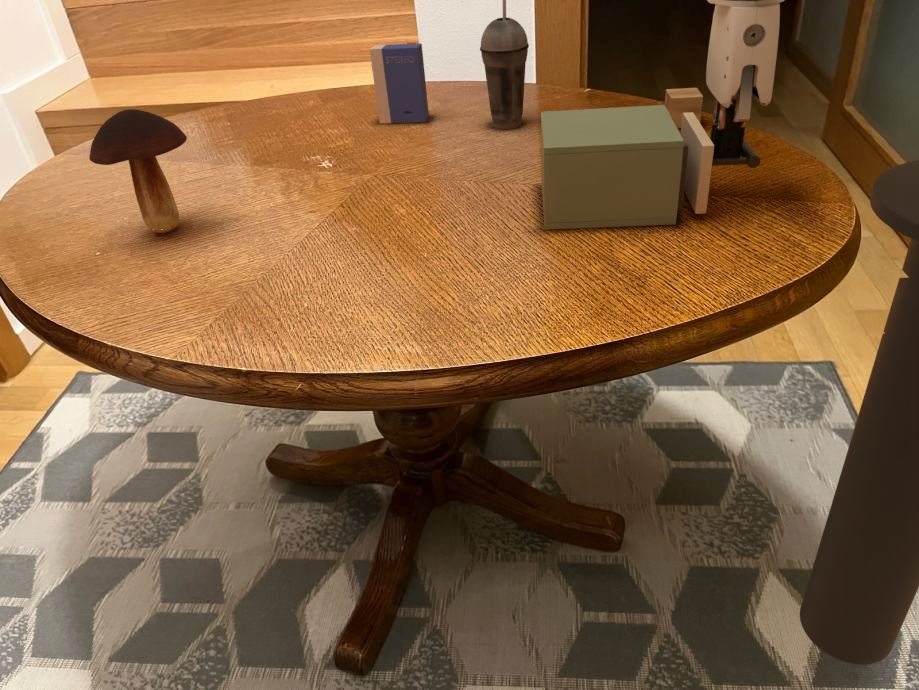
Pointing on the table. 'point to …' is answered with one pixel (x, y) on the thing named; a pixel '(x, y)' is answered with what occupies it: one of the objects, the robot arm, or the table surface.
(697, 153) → the drawer
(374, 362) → the table surface
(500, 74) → the beverage cup
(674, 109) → the block
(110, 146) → the decorative mushroom
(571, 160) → the cabinet
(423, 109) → the walkman
